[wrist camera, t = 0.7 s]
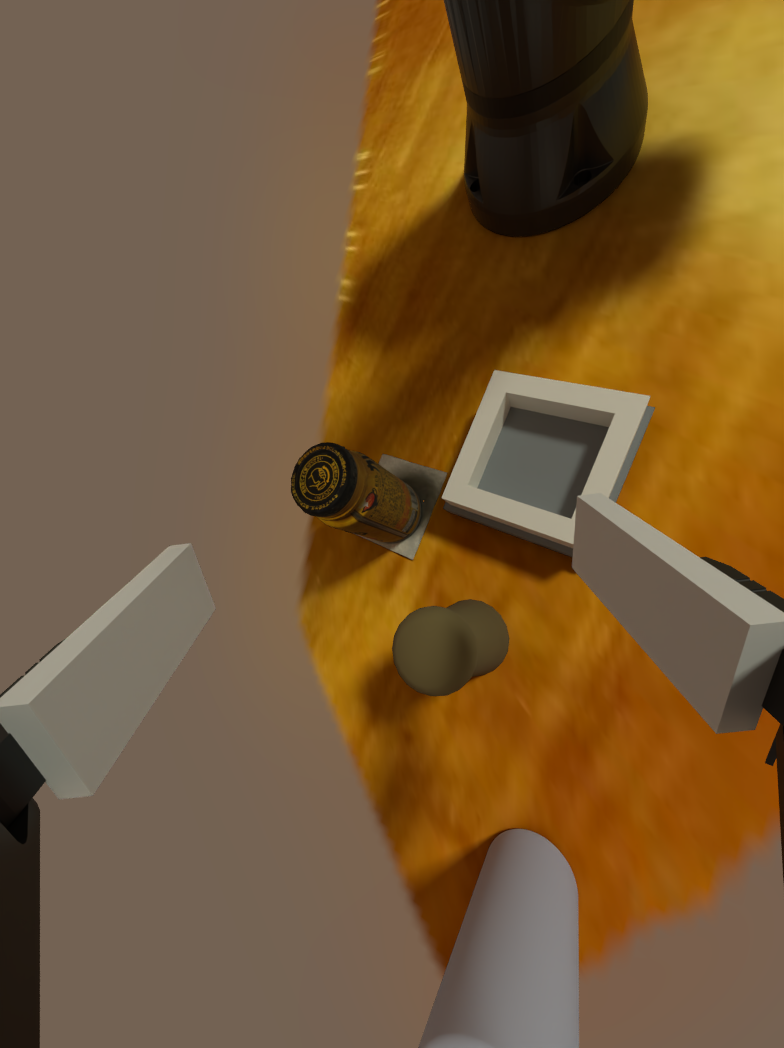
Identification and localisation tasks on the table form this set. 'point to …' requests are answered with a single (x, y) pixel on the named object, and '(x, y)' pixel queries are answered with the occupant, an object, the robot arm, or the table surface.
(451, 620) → the cork
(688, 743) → the table surface
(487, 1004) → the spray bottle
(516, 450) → the collar holder
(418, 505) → the condiment
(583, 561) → the robot arm
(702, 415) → the table surface
